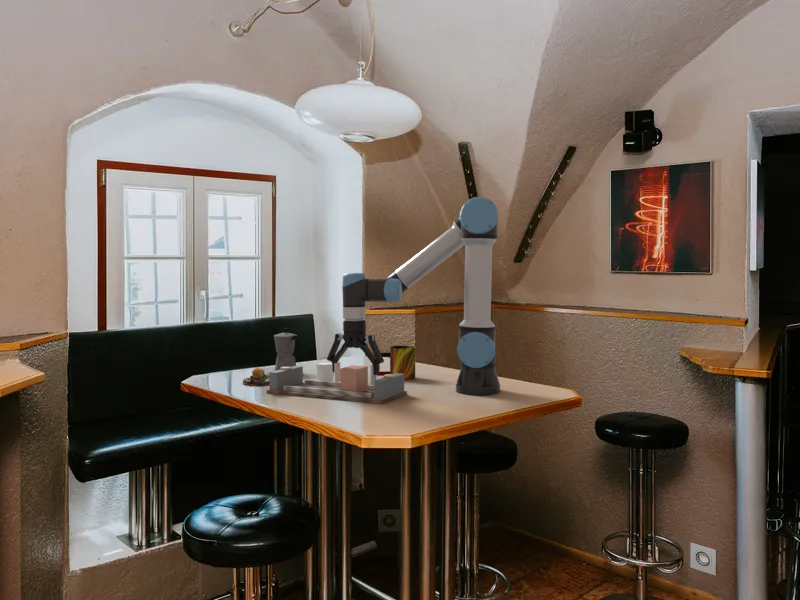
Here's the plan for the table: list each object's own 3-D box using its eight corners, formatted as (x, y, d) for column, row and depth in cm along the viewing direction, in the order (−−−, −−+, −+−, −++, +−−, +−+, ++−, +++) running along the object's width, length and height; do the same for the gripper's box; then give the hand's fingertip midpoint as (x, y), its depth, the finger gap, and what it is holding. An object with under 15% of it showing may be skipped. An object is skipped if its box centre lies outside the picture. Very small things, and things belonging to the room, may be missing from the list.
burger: (282, 382, 255) (282, 362, 255) (262, 387, 245) (262, 366, 244) (256, 380, 261) (256, 360, 260) (235, 385, 250) (235, 364, 250)
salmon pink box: (367, 390, 232) (367, 366, 231) (356, 394, 224) (356, 369, 224) (352, 388, 234) (352, 365, 234) (340, 392, 227) (340, 368, 227)
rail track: (406, 394, 231) (406, 386, 231) (383, 404, 215) (383, 396, 215) (296, 384, 250) (296, 377, 250) (266, 393, 233) (266, 385, 233)
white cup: (331, 384, 251) (331, 364, 250) (313, 383, 252) (313, 364, 252) (337, 380, 258) (337, 362, 257) (319, 380, 259) (319, 361, 259)
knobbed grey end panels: (405, 391, 230) (405, 372, 230) (384, 400, 216) (384, 379, 215) (294, 382, 249) (294, 364, 248) (268, 389, 234) (268, 370, 234)
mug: (375, 378, 262) (375, 347, 262) (406, 375, 270) (406, 345, 269) (388, 382, 254) (388, 350, 254) (420, 379, 261) (420, 347, 261)
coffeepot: (266, 371, 279) (266, 327, 278) (286, 369, 285) (286, 326, 284) (288, 376, 267) (287, 330, 266) (308, 373, 274) (307, 328, 273)
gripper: (393, 319, 226) (394, 383, 227) (327, 318, 237) (328, 379, 238) (383, 321, 219) (384, 387, 220) (316, 319, 230) (317, 382, 231)
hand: (355, 383), depth 229 cm, fingers open, 13 cm apart
